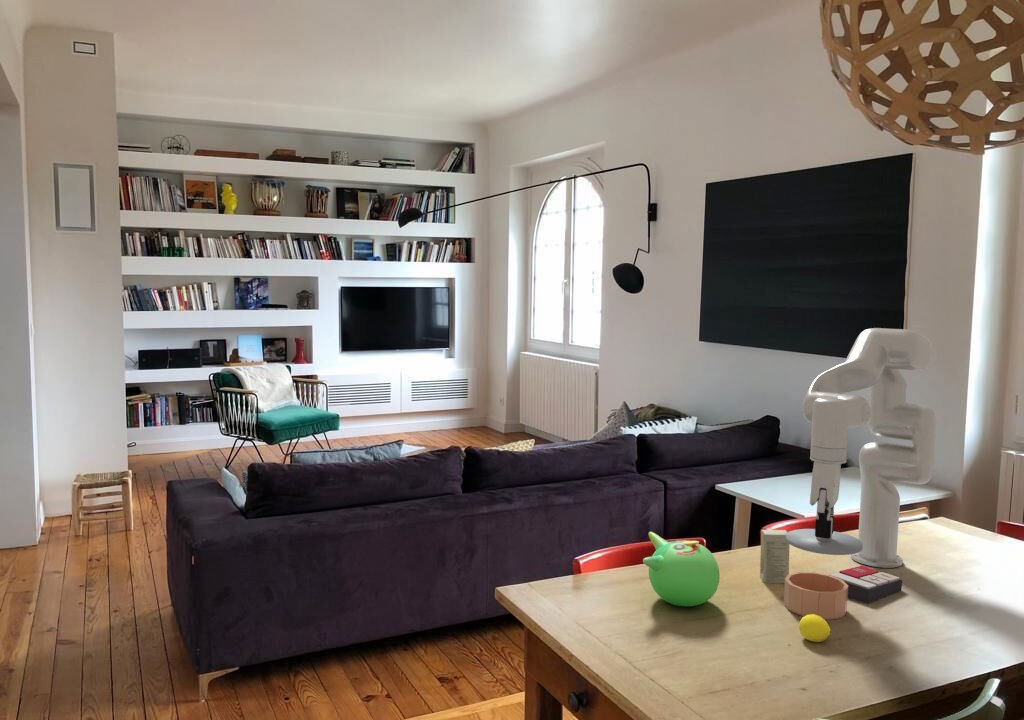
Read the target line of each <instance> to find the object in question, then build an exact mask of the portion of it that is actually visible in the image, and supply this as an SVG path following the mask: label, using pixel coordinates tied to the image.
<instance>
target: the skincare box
mask: <svg viewBox="0 0 1024 720" xmlns="http://www.w3.org/2000/svg"><path fill="white" fill-rule="evenodd" d="M788 532H789V531H787V530H786V529H760V535H761V536H760V563H759V564H760V565H759V567H760V569H759V574H760V575H759V577H760V579H761V581H762V583H767V584H768V583H770V584H772V583H773V584H774V583H775V584H785V578H786V576H787V575H788V574H790V544H789V543H788V542H787V541H786V534H787V533H788Z"/></svg>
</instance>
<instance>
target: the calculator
mask: <svg viewBox="0 0 1024 720" xmlns="http://www.w3.org/2000/svg"><path fill="white" fill-rule="evenodd" d="M829 575H831V576H833V577H836V578H839V579H841V580H843V581H844V582H845V583H846V584H847V585H848V599H850V600H851V599H852V600H853V601H857V602H860V603H862V604H866V605H869V604H872V603H874V602H877V601H878V600H880V599H882V598H887V597H890V596H893V595H895V594H897V593H900V592H902V588H903V580H902V579H900V577H899V576H895V575H892V574H891V573H887V572H884V571H881V572H880V571H879V570H877V569H874V568H871V567H867V566H864V565H859V566H855V567H854V566H853V567H850V568H847V569H843V570H839V572H835V573H833V572H832V573H830V574H829Z"/></svg>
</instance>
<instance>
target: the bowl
mask: <svg viewBox="0 0 1024 720" xmlns="http://www.w3.org/2000/svg"><path fill="white" fill-rule="evenodd" d="M783 589H784V591H783V604H784V607H785V608H786V609H787V610H788V611H790V612H791V613H793V614H796V615H798V616H801V617H804V616H806V615H810V614H815V615H818V616H821V617H822V618H823V619H824V620H826V621H830V620H838V619H839V620H840V619H841V618H844V617H845V616H846V615H847V614H846V613H847V611H848V601H849V598H848V585H847V584H846V583H845V582H844V581H843V580H841V579H839V578H836V577H833V576H831V575H830V574H825V573H821V572H815V571H797V572H793V573H789V574H788V575H787V576H786V578H785V583H784V588H783Z"/></svg>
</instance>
